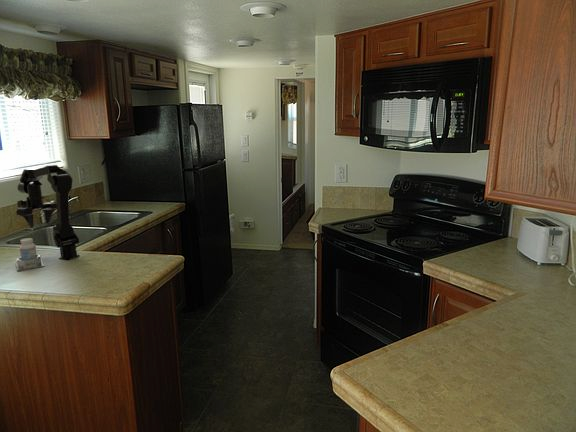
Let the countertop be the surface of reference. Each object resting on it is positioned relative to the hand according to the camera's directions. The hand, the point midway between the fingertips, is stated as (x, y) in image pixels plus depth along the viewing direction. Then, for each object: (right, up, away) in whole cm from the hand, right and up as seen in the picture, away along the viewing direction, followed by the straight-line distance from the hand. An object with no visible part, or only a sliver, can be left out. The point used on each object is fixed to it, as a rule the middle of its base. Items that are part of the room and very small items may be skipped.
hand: (39, 225), depth 210 cm
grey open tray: (+7, -17, -19) cm, 27 cm away
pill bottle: (+7, -17, -19) cm, 26 cm away
